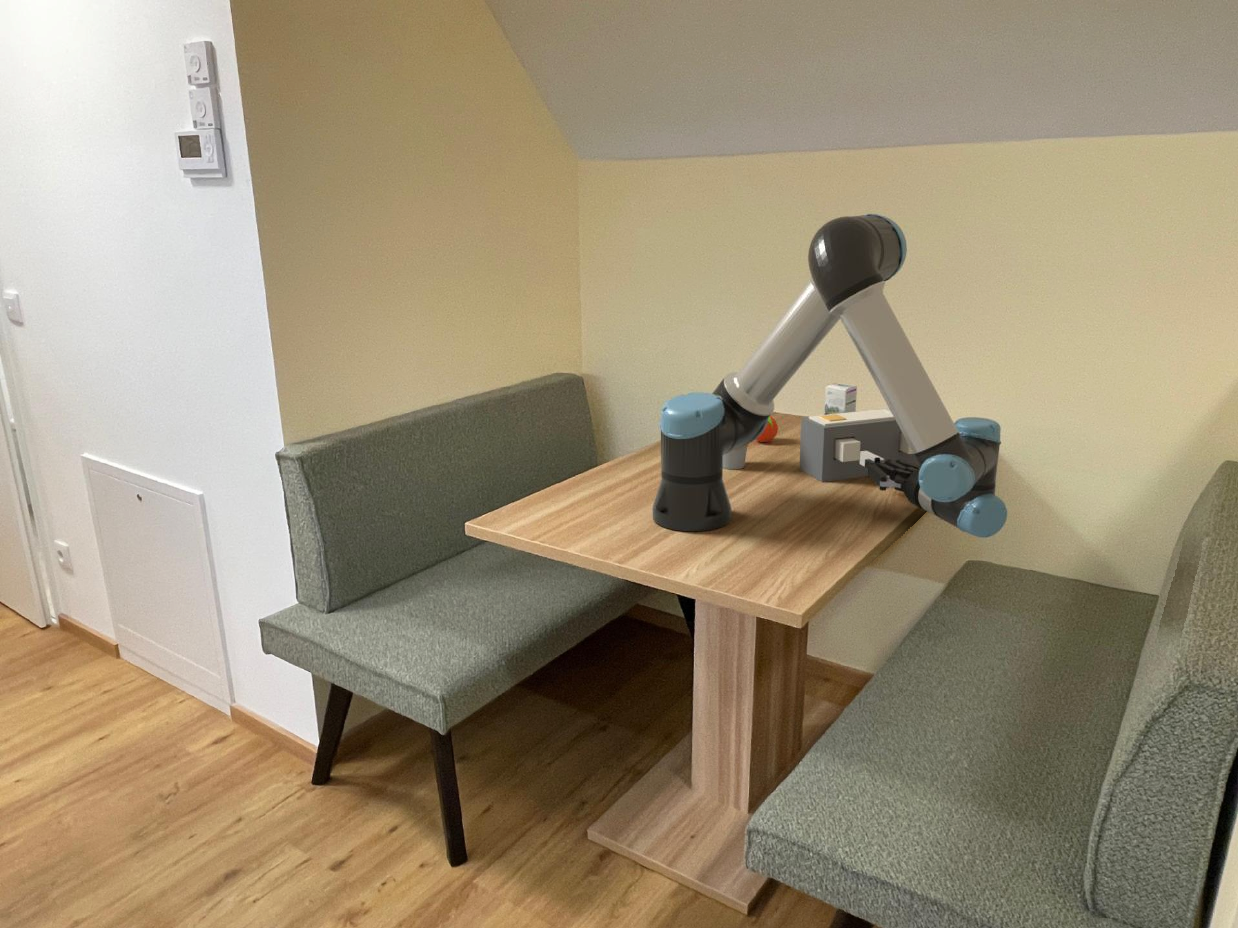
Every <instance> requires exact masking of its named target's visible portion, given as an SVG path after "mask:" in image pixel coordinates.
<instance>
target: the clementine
mask: <svg viewBox="0 0 1238 928" xmlns="http://www.w3.org/2000/svg"><path fill="white" fill-rule="evenodd" d="M778 429H779V427H778V423H777V421H776V419H775V418H774V417H772V416H771V415H770V416H769V418H768V423H767V425H766V427H765V429H764V431H763V432H762V433H761V434H760V435H759V436H758V438H756V439H755V440H754V441H757V442H760V443H768V442H771V441H772V440H774V439H775V438H776V435H777V434H778Z"/></svg>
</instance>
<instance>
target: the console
mask: <svg viewBox="0 0 1238 928" xmlns="http://www.w3.org/2000/svg"><path fill="white" fill-rule="evenodd" d="M900 431H901V429H900V427H899V425H898V424H897V422H896V420H895V418H894V416H893V414H892V413H891V411H890V409H889V407H887V408H878V409H868V410H860V411H857V410H856V412H847V413H838V414H828V415H824V414H821V415H820V414H819V415H810V416H809V415H808V416H802V417H801V418H800V440H799V441H800V442H799V443H800V444H799V445H800V446H799V468H798V469H799V470H800V471H802V472H804V473H805V474H807V475H809V476H811V477H813V478H814V479H816V480H817V481H819V482H821V483H824V482H832V481H839V480H848V479H855V478H864V477H869V476H868V468H866V467H865V466H863V465H861V464H860V458H859V460H856V461H847V462H842V461H840V460H838V459H836V458H834V442H835V438H844V437H851V438H853V439H855V440H857V441H860V451H868V452H870V453H873V454H875V455H877V456H879V457H881V458H883V459H885V460H888V459H890V460H892V461H894V462H895V460H897V459H900V460H903V461H906V462H910V463H913V464H916V465H919V463H918V461H917V459H916V457H915V455H914V454H907V453H905V452H902V451H900V450H899V439H900Z"/></svg>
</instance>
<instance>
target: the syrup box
mask: <svg viewBox="0 0 1238 928" xmlns="http://www.w3.org/2000/svg"><path fill="white" fill-rule="evenodd" d="M857 392H858V386H857V385H853V384H847V383H846V384H845V383H838V382H836V383H831V384H828V385H827V386H825V391H824V393H825V395H824V396H825V397H824V414H823V415H828V414H838V413H847V412H857V410H856V409H857V407H856V406H857V395H858V393H857Z"/></svg>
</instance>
